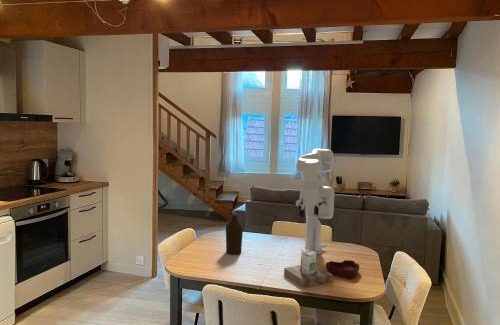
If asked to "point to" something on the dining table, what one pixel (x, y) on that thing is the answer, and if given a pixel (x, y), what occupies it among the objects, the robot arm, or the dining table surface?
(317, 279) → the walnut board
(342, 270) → the ashtray
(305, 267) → the syrup box
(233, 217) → the olive oil
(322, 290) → the dining table surface
